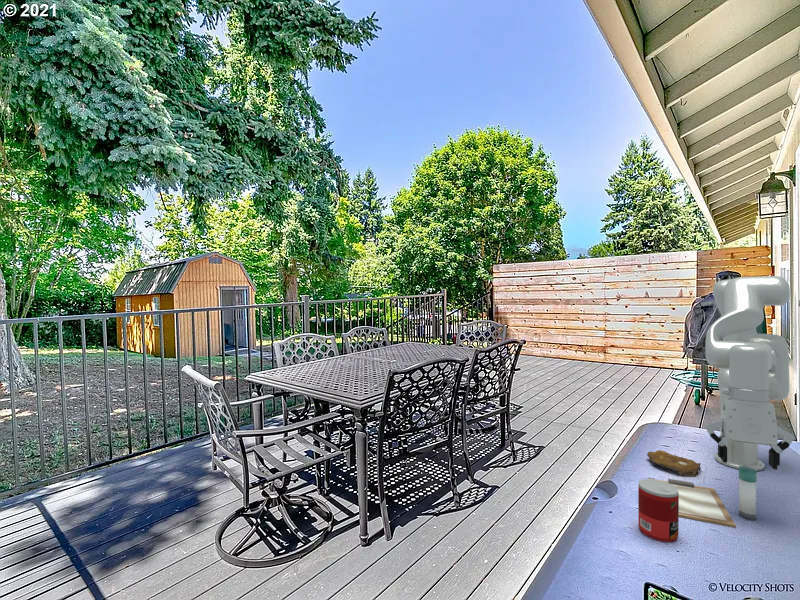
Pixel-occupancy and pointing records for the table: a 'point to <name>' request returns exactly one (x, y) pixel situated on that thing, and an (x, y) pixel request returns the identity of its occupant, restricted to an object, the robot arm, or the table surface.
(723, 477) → the table surface
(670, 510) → the canned food
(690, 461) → the decorative rock
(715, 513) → the clipboard
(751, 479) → the marker
